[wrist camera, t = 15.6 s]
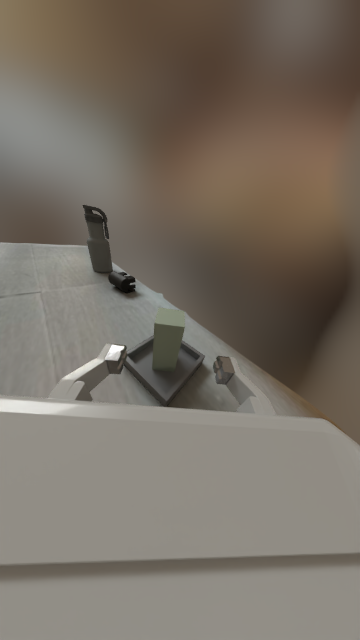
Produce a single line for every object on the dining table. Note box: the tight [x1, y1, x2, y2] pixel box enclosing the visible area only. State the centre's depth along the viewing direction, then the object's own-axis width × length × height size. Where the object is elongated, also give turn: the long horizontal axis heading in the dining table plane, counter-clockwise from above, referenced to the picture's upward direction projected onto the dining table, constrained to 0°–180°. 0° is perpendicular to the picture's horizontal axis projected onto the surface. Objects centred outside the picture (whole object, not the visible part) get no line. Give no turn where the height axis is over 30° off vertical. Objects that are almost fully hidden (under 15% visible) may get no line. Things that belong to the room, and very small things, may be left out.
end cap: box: [108, 271, 135, 293], centre depth 58 cm, size 10×7×7 cm
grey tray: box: [124, 335, 205, 407], centre depth 31 cm, size 14×14×3 cm
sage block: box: [152, 308, 185, 372], centre depth 27 cm, size 5×5×13 cm
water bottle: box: [83, 205, 113, 273], centre depth 67 cm, size 10×10×28 cm
